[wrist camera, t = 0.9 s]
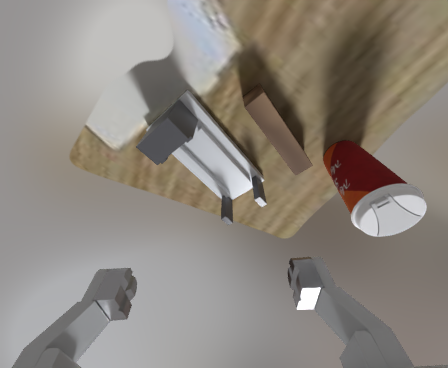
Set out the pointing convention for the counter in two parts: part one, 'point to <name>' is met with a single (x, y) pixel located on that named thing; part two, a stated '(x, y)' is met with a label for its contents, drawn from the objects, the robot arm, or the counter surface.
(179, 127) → the endcap frame
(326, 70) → the counter surface
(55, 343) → the robot arm
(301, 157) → the slat
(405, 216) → the coffee cup
